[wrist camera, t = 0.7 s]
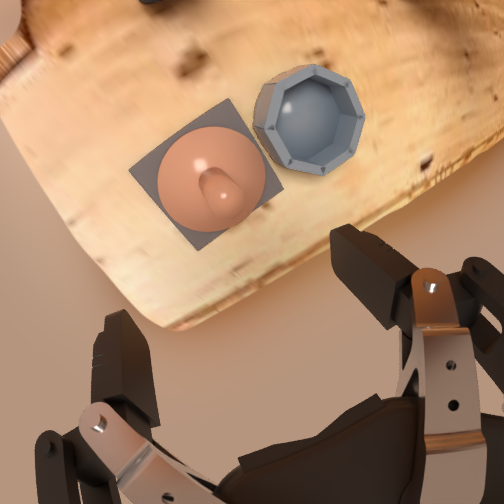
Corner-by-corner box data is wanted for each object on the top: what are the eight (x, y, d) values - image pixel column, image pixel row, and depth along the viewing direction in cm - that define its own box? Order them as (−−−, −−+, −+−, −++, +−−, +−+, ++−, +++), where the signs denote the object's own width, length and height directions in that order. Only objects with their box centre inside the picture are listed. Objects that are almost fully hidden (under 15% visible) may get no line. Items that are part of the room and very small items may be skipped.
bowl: (317, 55, 26) (337, 52, 22) (353, 134, 32) (374, 141, 29) (234, 99, 26) (246, 100, 23) (283, 181, 32) (299, 193, 29)
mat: (227, 98, 26) (228, 98, 25) (281, 187, 33) (283, 189, 32) (128, 169, 26) (128, 170, 26) (196, 248, 33) (197, 251, 33)
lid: (227, 105, 25) (250, 107, 20) (278, 188, 32) (309, 212, 26) (135, 171, 26) (131, 193, 20) (198, 245, 32) (212, 282, 26)
